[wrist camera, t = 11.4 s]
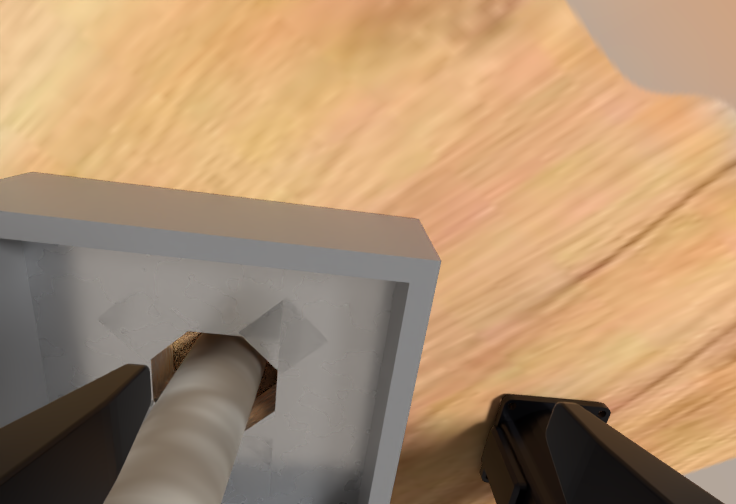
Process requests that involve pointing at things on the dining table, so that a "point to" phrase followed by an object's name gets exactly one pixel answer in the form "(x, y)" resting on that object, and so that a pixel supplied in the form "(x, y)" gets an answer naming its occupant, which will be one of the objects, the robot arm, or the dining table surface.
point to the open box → (228, 245)
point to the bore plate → (238, 318)
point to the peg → (194, 427)
